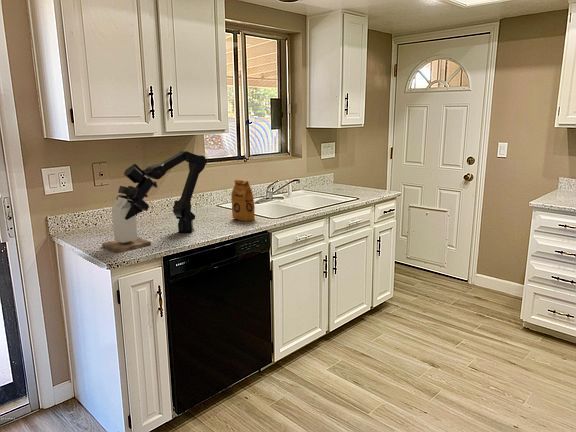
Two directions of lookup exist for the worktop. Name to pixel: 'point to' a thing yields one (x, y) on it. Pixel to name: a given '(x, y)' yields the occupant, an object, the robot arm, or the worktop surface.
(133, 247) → the cutting board
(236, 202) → the coffee package
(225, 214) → the worktop surface
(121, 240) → the milk carton
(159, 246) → the worktop surface
